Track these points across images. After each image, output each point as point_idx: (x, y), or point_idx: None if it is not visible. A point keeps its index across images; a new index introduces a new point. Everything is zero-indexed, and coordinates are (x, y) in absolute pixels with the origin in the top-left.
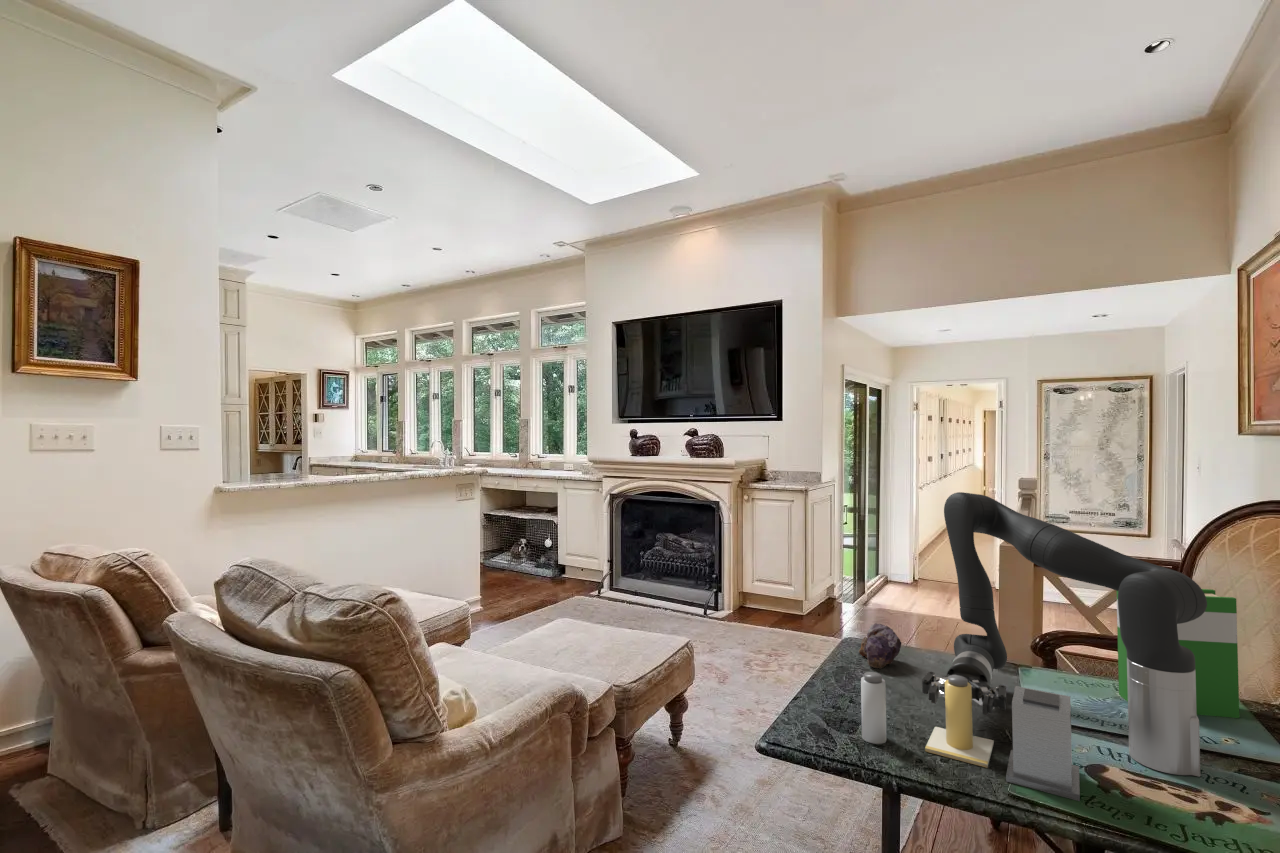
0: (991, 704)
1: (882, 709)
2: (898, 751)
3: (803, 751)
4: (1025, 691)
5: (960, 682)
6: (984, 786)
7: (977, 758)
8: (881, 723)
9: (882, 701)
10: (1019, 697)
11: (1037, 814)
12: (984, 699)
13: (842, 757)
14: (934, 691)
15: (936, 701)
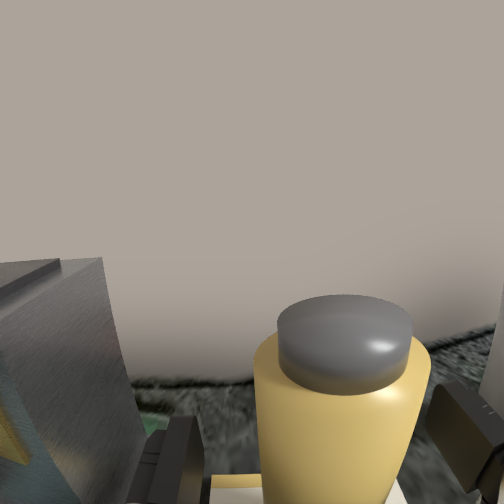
0: (148, 442)
1: (493, 344)
2: (424, 422)
3: (493, 331)
4: (8, 282)
5: (307, 303)
6: (217, 414)
7: (241, 491)
8: (483, 377)
9: (499, 323)
10: (56, 273)
11: (136, 383)
12: (182, 450)
13: (457, 351)
14: (449, 386)
15: (439, 447)
